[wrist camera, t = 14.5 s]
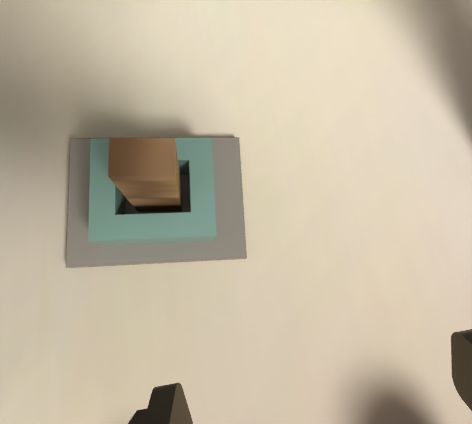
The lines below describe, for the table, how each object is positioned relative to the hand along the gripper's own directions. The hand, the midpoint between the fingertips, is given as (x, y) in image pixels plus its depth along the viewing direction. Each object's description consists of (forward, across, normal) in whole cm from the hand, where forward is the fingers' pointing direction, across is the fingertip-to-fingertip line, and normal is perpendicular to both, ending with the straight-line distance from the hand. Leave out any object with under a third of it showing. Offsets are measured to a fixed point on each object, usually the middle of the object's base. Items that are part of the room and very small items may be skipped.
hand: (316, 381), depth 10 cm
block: (+23, +9, -2) cm, 24 cm away
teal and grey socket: (+24, +9, -1) cm, 25 cm away
